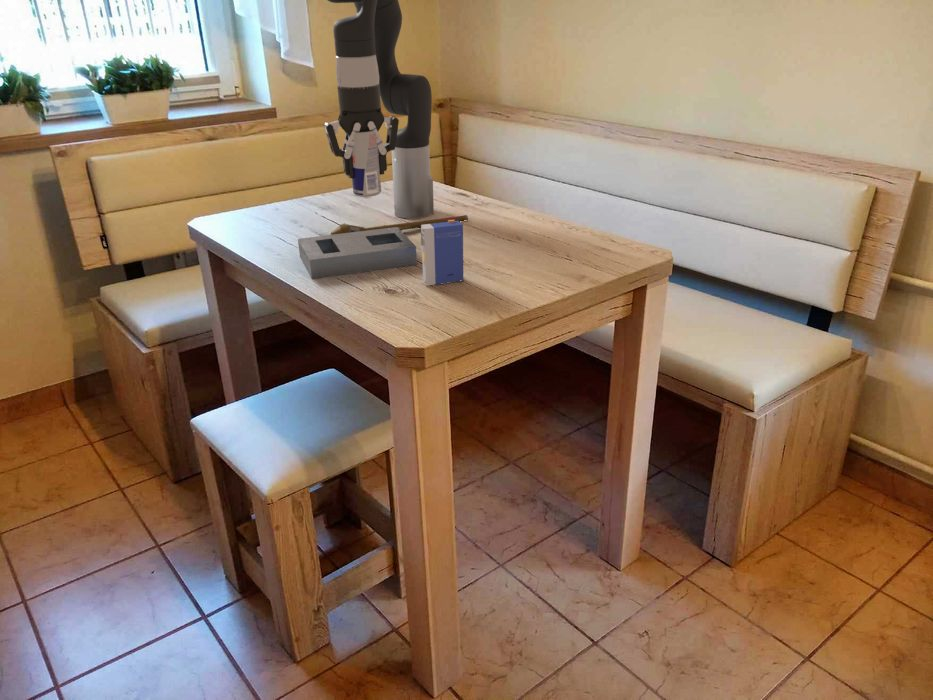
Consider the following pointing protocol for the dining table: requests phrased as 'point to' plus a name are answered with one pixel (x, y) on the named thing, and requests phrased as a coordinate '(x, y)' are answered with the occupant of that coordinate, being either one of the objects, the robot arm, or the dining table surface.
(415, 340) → the dining table surface
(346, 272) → the socket plate
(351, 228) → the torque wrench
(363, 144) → the energy drink
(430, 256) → the walkman
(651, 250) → the dining table surface
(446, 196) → the dining table surface
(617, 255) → the dining table surface
